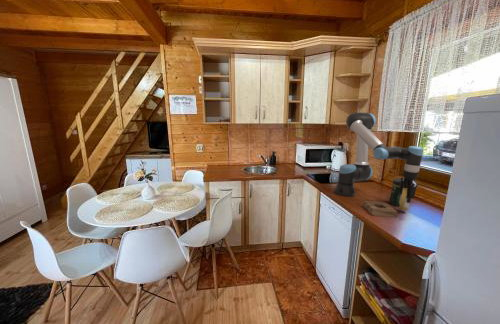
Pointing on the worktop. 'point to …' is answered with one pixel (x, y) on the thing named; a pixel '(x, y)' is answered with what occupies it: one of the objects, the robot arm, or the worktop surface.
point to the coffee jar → (395, 192)
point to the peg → (403, 200)
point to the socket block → (380, 209)
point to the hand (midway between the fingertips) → (403, 205)
